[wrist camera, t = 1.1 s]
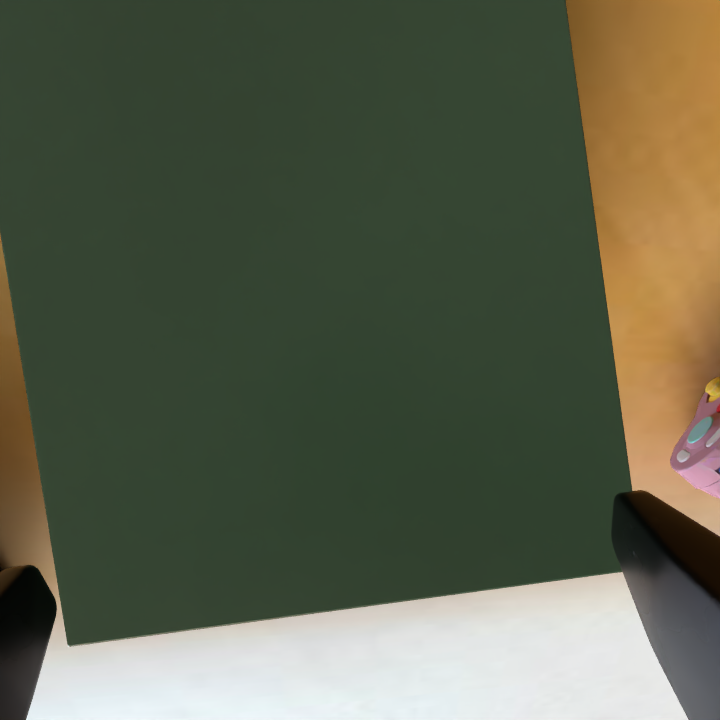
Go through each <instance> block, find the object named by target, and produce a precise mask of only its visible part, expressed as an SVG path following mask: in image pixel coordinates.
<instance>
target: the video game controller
mask: <svg viewBox="0 0 720 720" xmlns="http://www.w3.org/2000/svg"><path fill="white" fill-rule="evenodd" d="M705 391H706V392H705V393H704V395H703V396H702V398H701V400H700V401H699V404H698V408H697V412H696V415H695V417H694V419H693V421H692V422H691V424H690V425H689V426H688V428H687V429H686V431H685V432H684V434H683V435H682V437H681V438H680V440H679V441H678V443H677V444H676V446H675V448H674V450H673V453H672V456H671V459H670V462H671V467H672V468H673V469H674V470H675V471H676V472H677V473H679V474H680V475H681V476H682V477H684V478H685V479H686V480H687V481H688V482H690V483H691V484H692V485H693V486H694V488H696V489H701V490H703V491H705V492H706V493H708V494H710V495H712V496H714V497H717V498H720V377H717V378H714V379H712V380H711V381H710V382H709V383H708V384H707V386H706V389H705Z"/></svg>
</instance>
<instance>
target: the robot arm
mask: <svg viewBox="0 0 720 720" xmlns="http://www.w3.org/2000/svg"><path fill="white" fill-rule="evenodd" d="M611 539H612V544H613V548H614V551H615V553H616V556H617V559H618V561H619V564H620V566H621V569H622V572H623V574H624V577H625V579H626V582H627V585H628V587H629V590H630V592H631V595H632V598H633V600H634V603H635V605H636V608H637V611H638V613H639V616H640V618H641V621H642V623H643V626H644V629H645V631H646V634H647V636H648V639H649V641H650V643H651V646H652V648H653V650H654V652H655V654H656V656H657V659H658V661H659V663H660V665H661V667H662V669H663V671H664V673H665V674H666V676H667V678H668V680H669V682H670V684H671V686H672V688H673V690H674V692H675V694H676V696H677V698H678V700H679V702H680V704H681V706H682V708H683V710H684V712H685V713H686V715H687V717H688V719H689V720H720V536H718V535H716V534H715V533H713V532H712V531H710V530H708V529H707V528H705V527H703V526H702V525H700V524H699V523H697V522H695V521H694V520H692V519H691V518H689V517H687V516H686V515H684V514H682V513H681V512H679V511H678V510H676V509H674V508H673V507H671V506H670V505H668V504H666V503H665V502H663V501H662V500H660V499H658V498H657V497H655V496H653V495H652V494H650V493H648V492H646V491H643V490H638V491H629V492H621V493H618V494H617V495H616V496H615V498H614V503H613V516H612V528H611ZM56 611H57V606H56V601H55V598H54V596H53V594H52V592H51V591H50V589H49V587H48V585H47V583H46V582H45V580H44V578H43V576H42V575H41V573H40V571H39V570H38V568H36V567H35V566H33V565H25V566H17V567H10V568H7V569H4V570H3V571H2V569H1V568H0V720H26V718H27V715H28V711H29V708H30V705H31V702H32V699H33V695H34V692H35V688H36V685H37V681H38V678H39V674H40V670H41V667H42V663H43V660H44V656H45V653H46V649H47V646H48V642H49V639H50V635H51V632H52V628H53V625H54V621H55V617H56Z"/></svg>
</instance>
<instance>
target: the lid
mask: <svg viewBox="0 0 720 720" xmlns="http://www.w3.org/2000/svg"><path fill="white" fill-rule="evenodd" d="M0 234H1V240H2V246H3V252H4V258H5V265H6V271H7V277H8V283H9V289H10V295H11V301H12V307H13V313H14V320H15V326H16V332H17V338H18V344H19V350H20V356H21V362H22V368H23V375H24V381H25V387H26V393H27V399H28V405H29V411H30V417H31V424H32V430H33V436H34V442H35V448H36V454H37V460H38V466H39V472H40V479H41V485H42V491H43V497H44V503H45V509H46V515H47V521H48V527H49V534H50V540H51V546H52V552H53V558H54V564H55V570H56V576H57V583H58V589H59V595H60V601H61V607H62V613H63V619H64V625H65V631H66V638H67V644H68V646H70V647H71V646H78V645H85V644H93V643H100V642H108V641H115V640H122V639H130V638H137V637H145V636H152V635H159V634H167V633H174V632H181V631H189V630H196V629H204V628H211V627H218V626H226V625H233V624H241V623H248V622H255V621H263V620H270V619H278V618H285V617H292V616H300V615H307V614H314V613H322V612H329V611H337V610H344V609H351V608H359V607H366V606H374V605H381V604H388V603H396V602H403V601H410V600H418V599H425V598H433V597H440V596H447V595H455V594H462V593H470V592H477V591H484V590H492V589H499V588H506V587H514V586H521V585H529V584H536V583H543V582H551V581H558V580H566V579H573V578H580V577H588V576H595V575H603V574H610V573H617V572H622V569H621V566H620V564H619V561H618V559H617V556H616V553H615V551H614V548H613V544H612V539H611V528H612V516H613V503H614V498H615V496H616V495H617V494H618V493H621V492H629V491H632V486H631V478H630V471H629V464H628V456H627V449H626V442H625V434H624V427H623V420H622V412H621V405H620V398H619V390H618V383H617V375H616V368H615V361H614V353H613V346H612V339H611V331H610V324H609V317H608V309H607V302H606V295H605V287H604V280H603V273H602V265H601V258H600V251H599V243H598V236H597V228H596V221H595V214H594V206H593V199H592V192H591V184H590V177H589V170H588V162H587V155H586V148H585V140H584V133H583V126H582V118H581V111H580V104H579V96H578V89H577V81H576V74H575V67H574V59H573V52H572V45H571V37H570V30H569V23H568V15H567V8H566V1H565V0H0Z"/></svg>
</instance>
